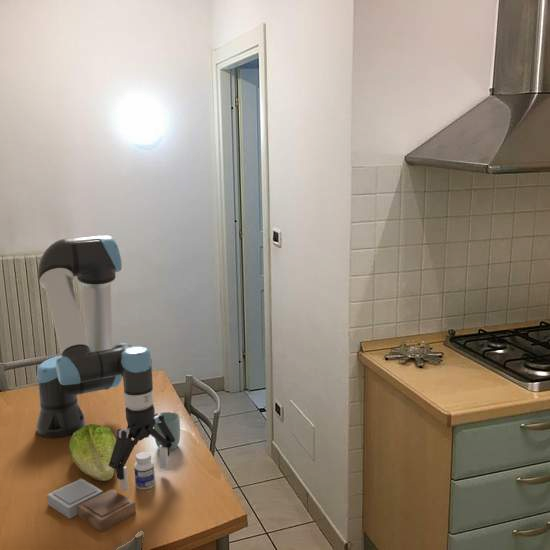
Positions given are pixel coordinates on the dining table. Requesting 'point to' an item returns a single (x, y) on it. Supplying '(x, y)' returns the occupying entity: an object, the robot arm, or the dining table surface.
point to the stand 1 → (72, 497)
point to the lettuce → (93, 451)
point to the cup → (170, 428)
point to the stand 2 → (106, 510)
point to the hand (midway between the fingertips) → (145, 478)
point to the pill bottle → (144, 471)
